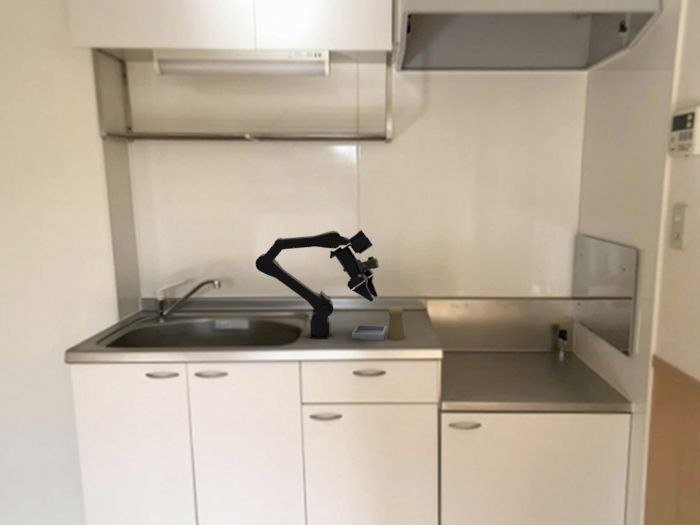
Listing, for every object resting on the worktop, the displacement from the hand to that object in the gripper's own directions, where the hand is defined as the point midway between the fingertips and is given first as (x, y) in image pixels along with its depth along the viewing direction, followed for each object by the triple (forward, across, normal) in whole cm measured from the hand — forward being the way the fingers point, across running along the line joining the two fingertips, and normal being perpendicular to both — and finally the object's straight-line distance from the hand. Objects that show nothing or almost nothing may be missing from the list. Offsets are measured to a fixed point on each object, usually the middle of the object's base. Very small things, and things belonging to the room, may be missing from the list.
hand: (374, 298), depth 163 cm
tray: (+10, +2, +10) cm, 14 cm away
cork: (+16, +1, +2) cm, 16 cm away
